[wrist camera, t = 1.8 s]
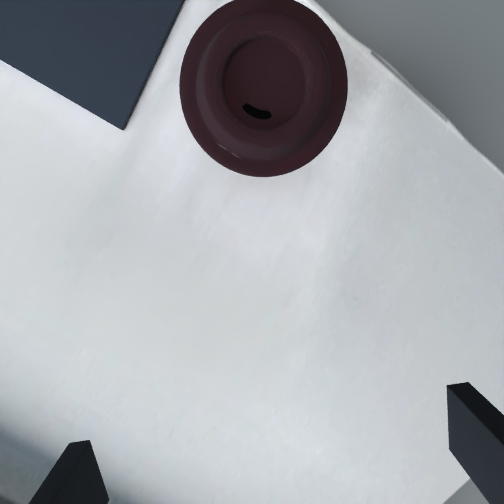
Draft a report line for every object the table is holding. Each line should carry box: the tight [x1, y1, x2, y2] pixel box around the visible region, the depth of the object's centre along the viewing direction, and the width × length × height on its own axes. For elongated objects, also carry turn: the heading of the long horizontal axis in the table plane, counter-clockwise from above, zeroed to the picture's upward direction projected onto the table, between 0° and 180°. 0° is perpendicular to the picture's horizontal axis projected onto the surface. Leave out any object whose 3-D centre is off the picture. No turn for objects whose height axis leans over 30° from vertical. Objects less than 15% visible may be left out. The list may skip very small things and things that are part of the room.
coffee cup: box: [179, 0, 348, 177], centre depth 25 cm, size 10×10×15 cm
